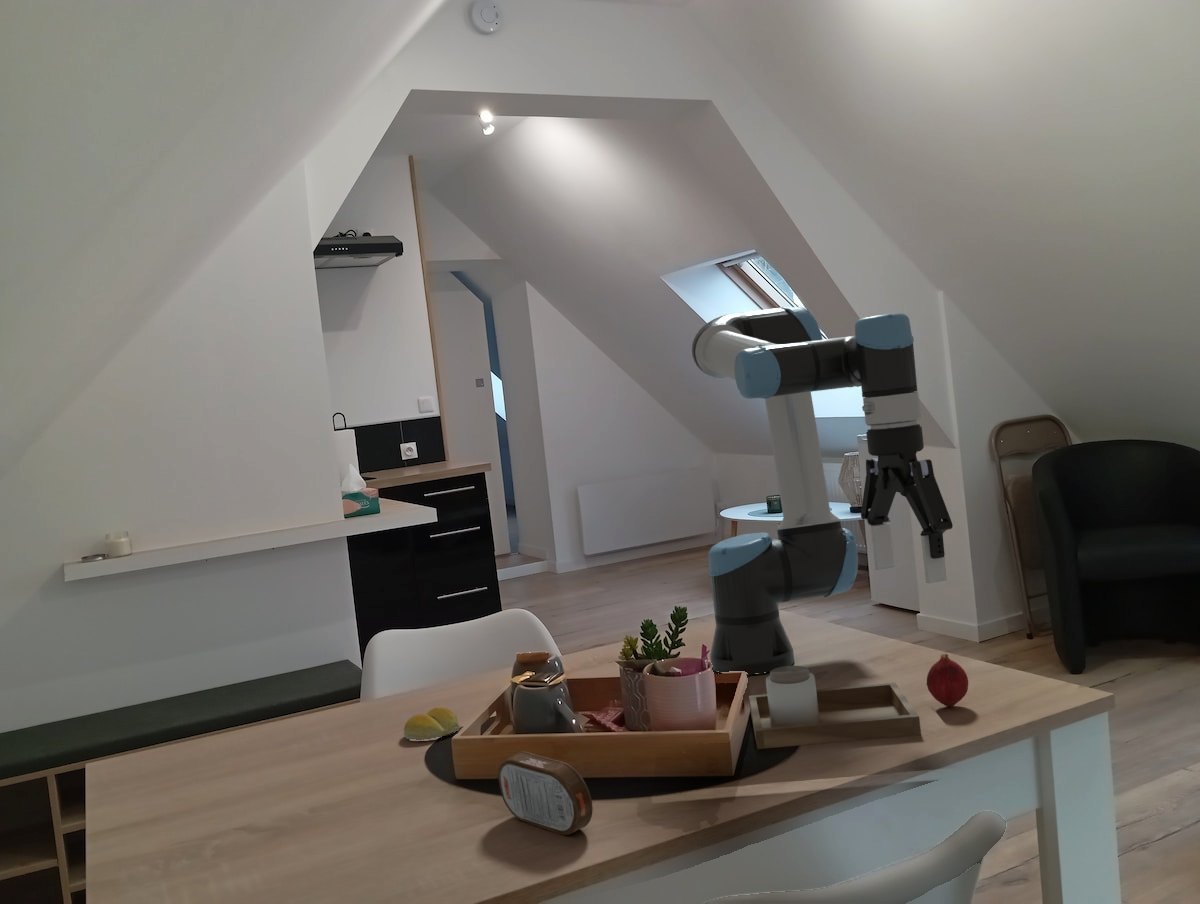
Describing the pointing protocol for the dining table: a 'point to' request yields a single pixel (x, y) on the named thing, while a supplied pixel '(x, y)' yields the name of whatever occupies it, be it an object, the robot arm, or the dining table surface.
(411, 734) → the yellow rounded lump
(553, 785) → the tin
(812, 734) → the wooden tray
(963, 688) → the onion
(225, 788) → the dining table surface
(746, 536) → the robot arm
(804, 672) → the jar
